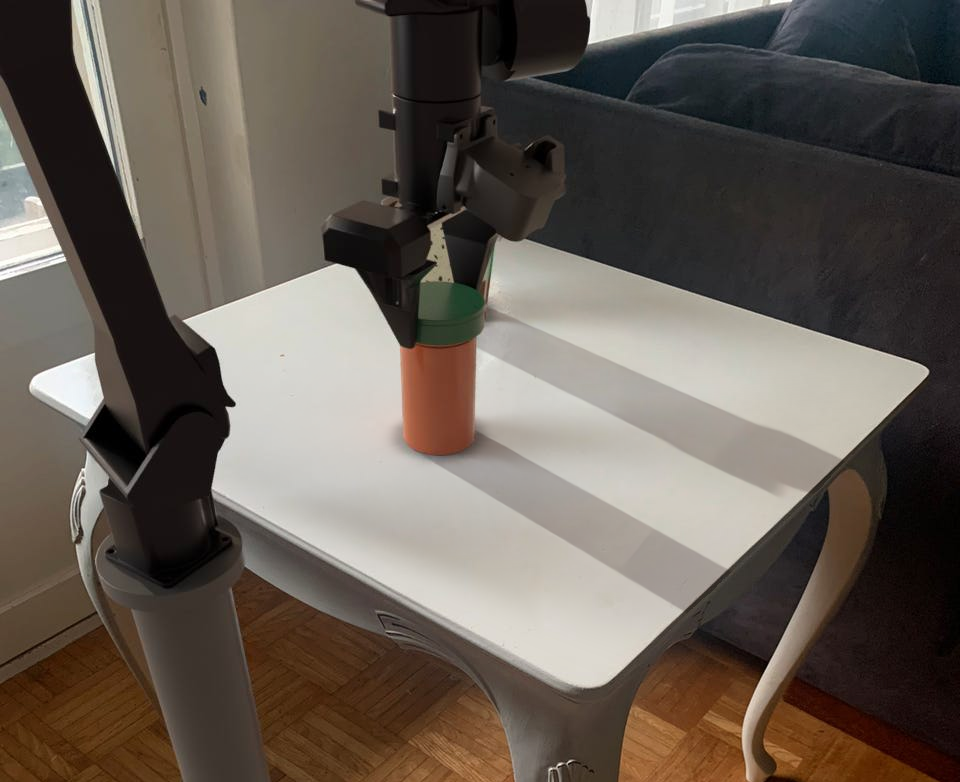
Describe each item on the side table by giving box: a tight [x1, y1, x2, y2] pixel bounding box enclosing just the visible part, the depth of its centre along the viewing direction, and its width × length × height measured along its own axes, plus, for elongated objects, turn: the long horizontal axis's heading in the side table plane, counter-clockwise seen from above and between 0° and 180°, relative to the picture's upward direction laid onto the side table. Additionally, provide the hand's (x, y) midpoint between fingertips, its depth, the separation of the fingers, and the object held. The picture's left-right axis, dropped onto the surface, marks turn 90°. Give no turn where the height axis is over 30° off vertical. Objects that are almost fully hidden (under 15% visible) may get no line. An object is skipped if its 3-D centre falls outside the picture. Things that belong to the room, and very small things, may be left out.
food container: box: [380, 196, 504, 320], centre depth 93 cm, size 12×6×10 cm, turn 71°
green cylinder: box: [416, 281, 486, 345], centre depth 70 cm, size 7×7×2 cm
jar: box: [399, 336, 478, 456], centre depth 73 cm, size 6×6×11 cm
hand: (438, 326), depth 71 cm, fingers open, 8 cm apart
